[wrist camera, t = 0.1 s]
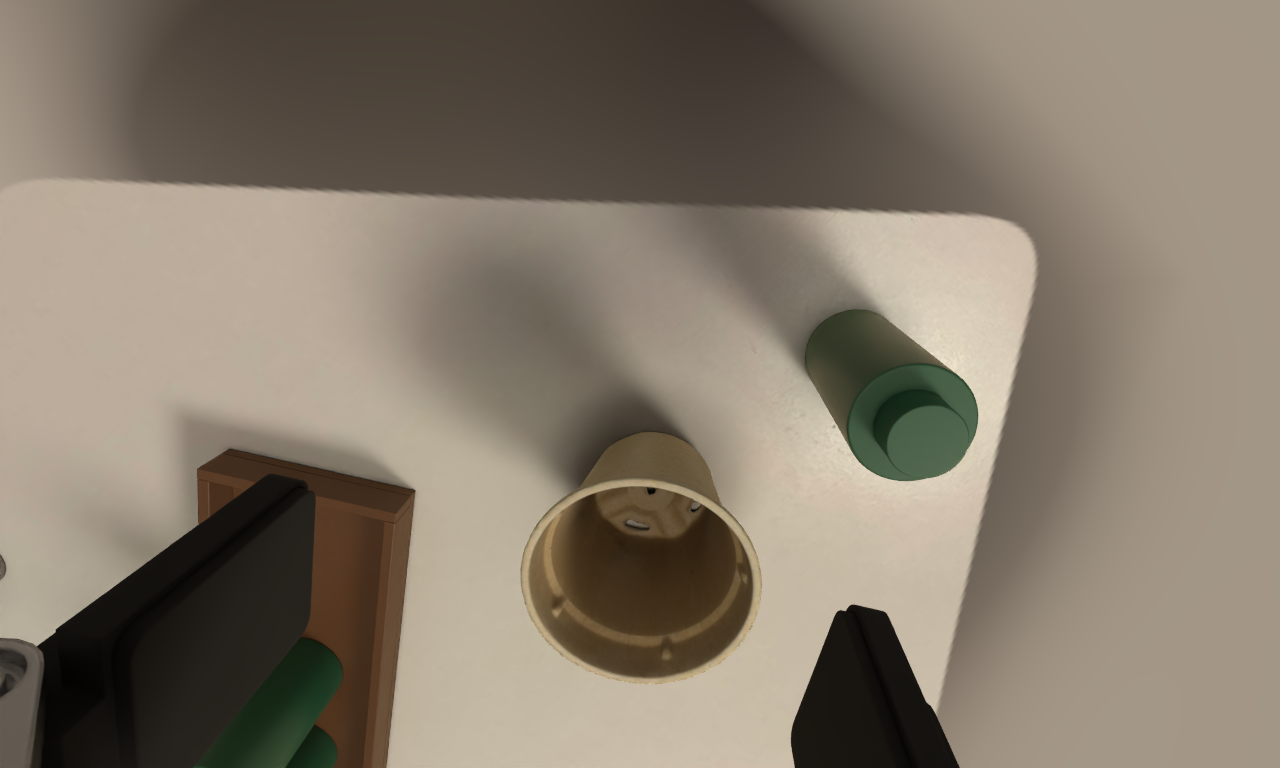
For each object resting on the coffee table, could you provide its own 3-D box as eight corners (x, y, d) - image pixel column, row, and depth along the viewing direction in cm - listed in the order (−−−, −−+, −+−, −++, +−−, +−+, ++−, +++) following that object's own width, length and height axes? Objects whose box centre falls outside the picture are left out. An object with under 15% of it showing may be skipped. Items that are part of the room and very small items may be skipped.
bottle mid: (271, 629, 37) (130, 787, 28) (345, 646, 37) (228, 810, 28) (270, 687, 39) (135, 856, 29) (341, 703, 39) (229, 877, 29)
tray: (229, 448, 34) (196, 468, 32) (415, 490, 34) (396, 513, 32) (231, 784, 42) (205, 819, 40) (381, 818, 42) (363, 854, 40)
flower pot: (548, 405, 32) (500, 487, 24) (738, 391, 31) (756, 472, 23) (574, 565, 35) (539, 687, 27) (748, 557, 34) (767, 681, 26)
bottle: (821, 300, 29) (883, 364, 20) (914, 320, 29) (1022, 395, 20) (793, 388, 31) (839, 486, 21) (882, 408, 31) (968, 515, 21)
